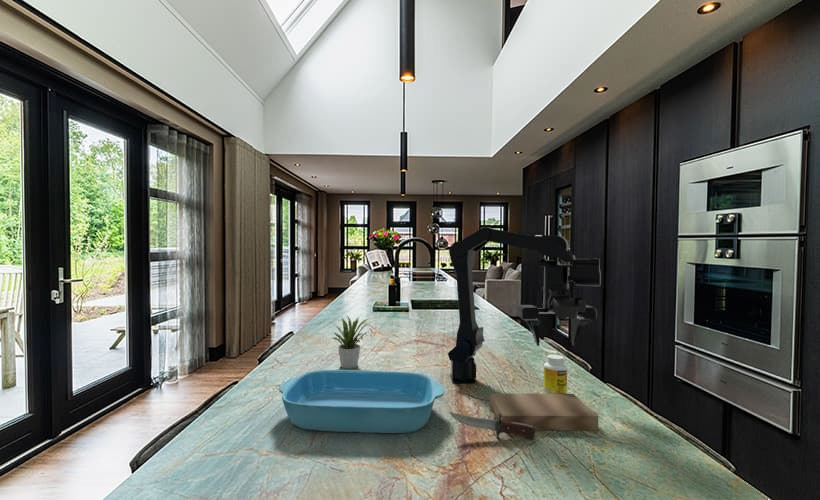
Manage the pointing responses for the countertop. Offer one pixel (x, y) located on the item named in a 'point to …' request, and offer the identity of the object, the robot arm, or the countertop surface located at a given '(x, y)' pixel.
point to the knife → (497, 425)
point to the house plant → (349, 343)
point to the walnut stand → (544, 411)
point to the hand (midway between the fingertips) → (555, 345)
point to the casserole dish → (360, 400)
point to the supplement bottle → (555, 375)
